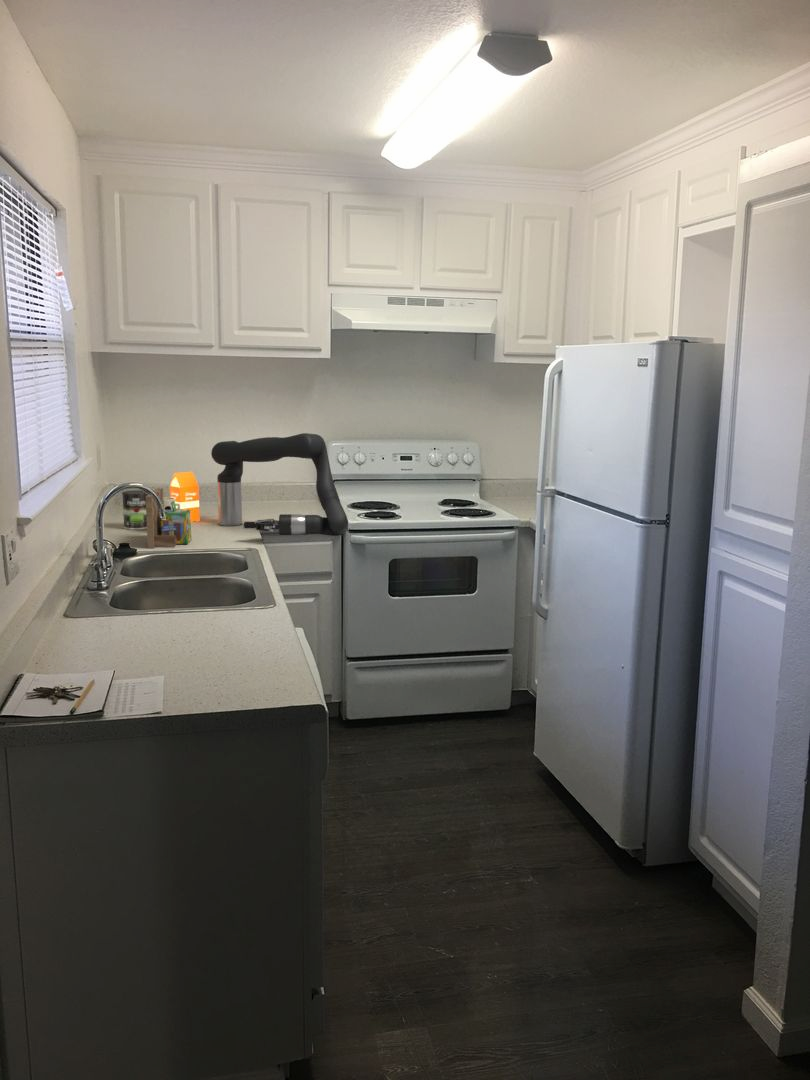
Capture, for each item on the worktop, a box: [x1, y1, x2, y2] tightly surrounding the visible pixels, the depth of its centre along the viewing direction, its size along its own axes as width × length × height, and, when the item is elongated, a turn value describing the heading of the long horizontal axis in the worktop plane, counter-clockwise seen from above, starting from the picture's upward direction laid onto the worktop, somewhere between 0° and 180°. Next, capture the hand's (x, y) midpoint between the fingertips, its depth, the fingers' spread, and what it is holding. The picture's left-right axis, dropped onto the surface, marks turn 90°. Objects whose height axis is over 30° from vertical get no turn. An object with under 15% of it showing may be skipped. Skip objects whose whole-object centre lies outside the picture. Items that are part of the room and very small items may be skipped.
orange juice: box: [169, 471, 200, 523], centre depth 352 cm, size 8×9×20 cm
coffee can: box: [121, 489, 148, 531], centre depth 337 cm, size 10×10×14 cm
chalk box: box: [160, 501, 192, 545], centre depth 308 cm, size 9×9×15 cm
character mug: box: [164, 496, 180, 510], centre depth 327 cm, size 11×7×13 cm, turn 90°
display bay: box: [146, 487, 177, 549], centre depth 308 cm, size 22×9×18 cm, turn 5°
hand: (244, 525), depth 310 cm, fingers closed
